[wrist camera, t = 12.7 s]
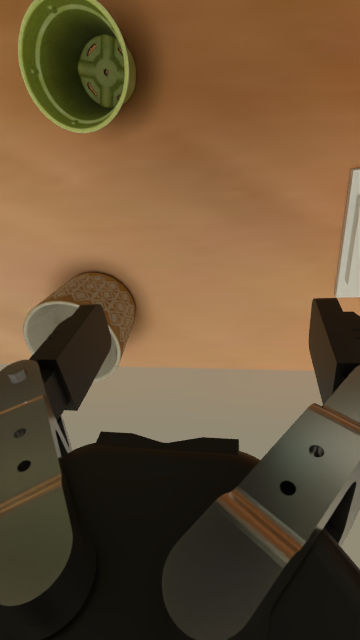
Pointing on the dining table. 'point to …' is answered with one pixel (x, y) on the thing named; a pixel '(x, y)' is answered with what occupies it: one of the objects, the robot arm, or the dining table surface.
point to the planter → (67, 302)
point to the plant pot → (75, 63)
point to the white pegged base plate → (350, 243)
